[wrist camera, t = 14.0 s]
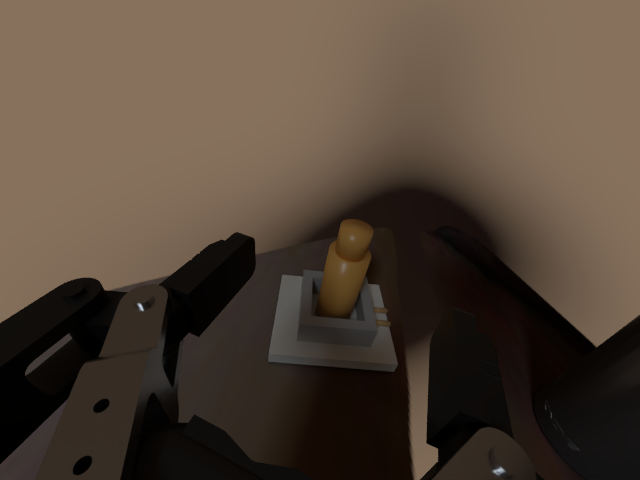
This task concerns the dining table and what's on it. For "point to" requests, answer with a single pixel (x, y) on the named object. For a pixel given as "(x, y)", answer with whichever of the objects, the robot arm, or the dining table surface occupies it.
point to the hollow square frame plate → (330, 328)
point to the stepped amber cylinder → (345, 270)
